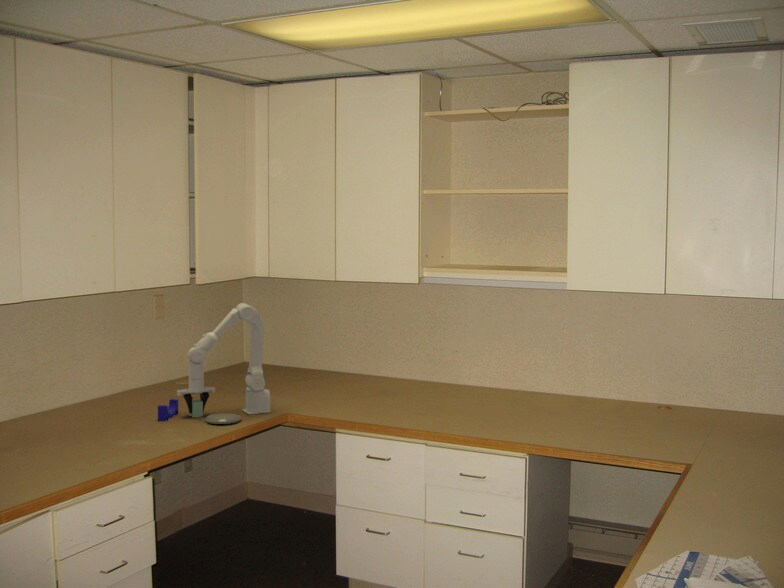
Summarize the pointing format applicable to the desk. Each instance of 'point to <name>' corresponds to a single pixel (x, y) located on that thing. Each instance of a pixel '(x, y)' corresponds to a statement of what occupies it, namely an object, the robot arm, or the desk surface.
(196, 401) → the pale green block
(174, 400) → the cable clip
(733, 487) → the desk surface
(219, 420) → the slate plate
